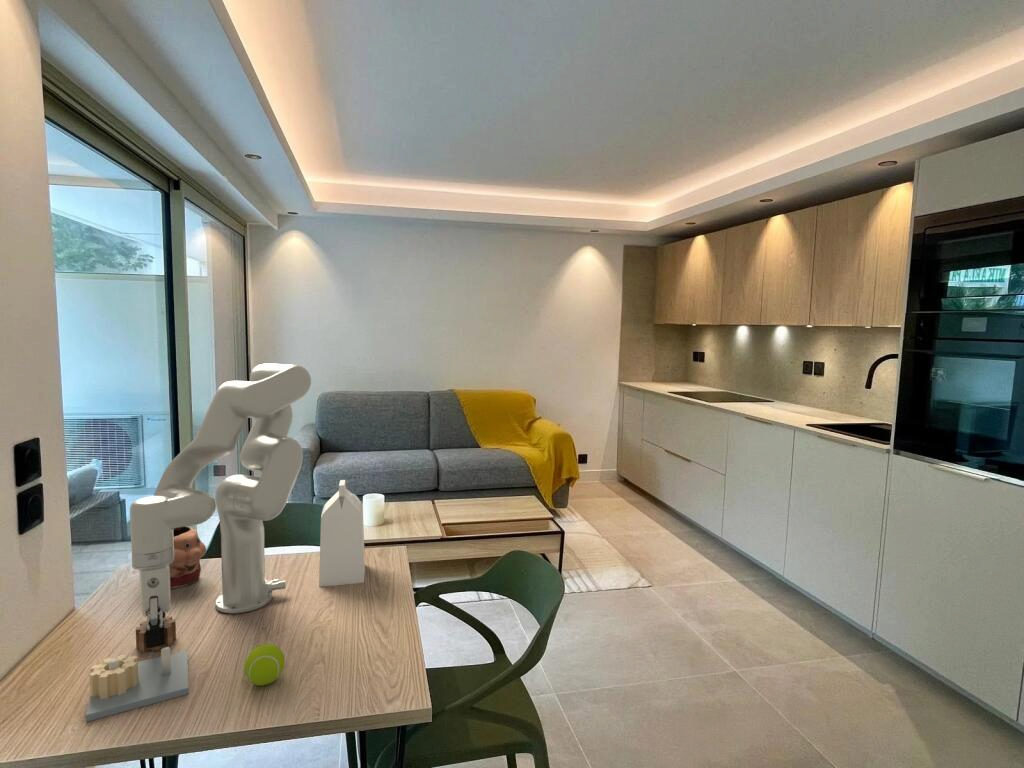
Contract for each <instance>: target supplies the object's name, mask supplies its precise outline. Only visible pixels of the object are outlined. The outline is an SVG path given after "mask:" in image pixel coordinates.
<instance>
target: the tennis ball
mask: <svg viewBox="0 0 1024 768" xmlns="http://www.w3.org/2000/svg"><path fill="white" fill-rule="evenodd" d="M285 659H286V658H285V654H284V652H283V650H282V649H281V648H280V647H279V646H277V645H276V644H272V643H265V644H261V645H259V646H256V647H255V648H253V649H252V651H251V652H249V654H248V655H247V657H246V660H245V661H244V665H243V666H244V675H245V677H246V679H247V680H248V682H250V683H251V684H253V685H255V686H266V685H270V684H272V683H273V682H275V681H277V679H278V678H279V677H280V676H281V674H282V673H283V671H284V668H285V663H286V660H285Z"/></svg>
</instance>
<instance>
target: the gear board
mask: <svg viewBox="0 0 1024 768" xmlns="http://www.w3.org/2000/svg"><path fill="white" fill-rule="evenodd" d="M138 660H139V659H138V657H137V656H136V655H133V656H129V654H126V653H125V654H120V655H119V656H115V657H111V656H110V657H107V658H104V659H102V662H100V663H99V664H94V665H93V666H92V667H90V673H89V691H90V692H89V699H88V704H87V709H86V713H85V722H87V723H88V722H90V721H91V722H92V721H94V720H98V719H102V718H106V717H108V716H113V715H116V714H117V715H118V714H120V713H124V712H126V711H131V710H133V709H139V708H141V707H142V708H143V707H146V706H149V705H152V704H156V703H160V702H163V701H168V700H170V699H171V700H172V699H175V698H178V697H182V696H186V695H189V694H190V693H189V689H190V688H189V671H188V670H189V665H188V662H189V661H188V650H183V651H177V652H174V653H171V647H169V646H164V647H162V648H160V656H158V657H154V658H150V659H146V660H141V661H138Z"/></svg>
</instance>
